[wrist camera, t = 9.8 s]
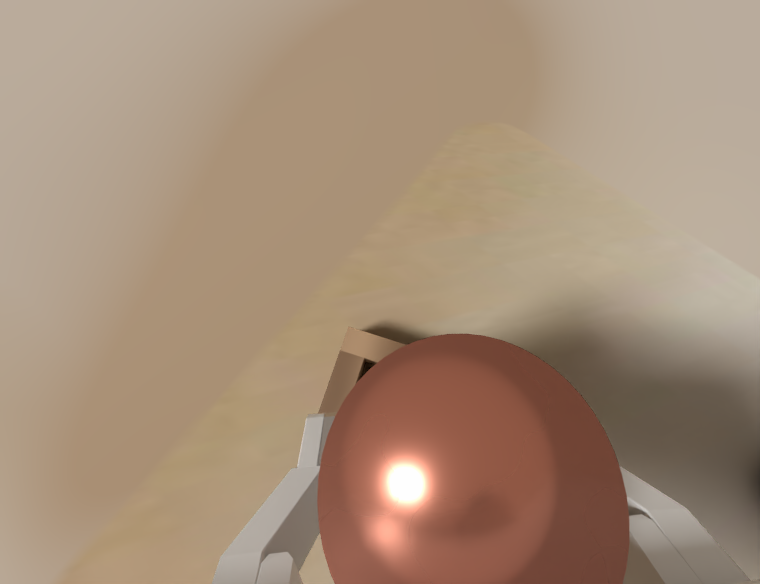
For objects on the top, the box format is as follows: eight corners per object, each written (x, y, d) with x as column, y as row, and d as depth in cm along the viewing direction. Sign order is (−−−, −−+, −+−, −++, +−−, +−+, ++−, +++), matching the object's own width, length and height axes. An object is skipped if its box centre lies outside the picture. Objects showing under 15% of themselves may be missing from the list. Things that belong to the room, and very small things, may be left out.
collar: (463, 369, 23) (475, 366, 20) (434, 499, 20) (443, 518, 17) (352, 333, 24) (348, 326, 21) (310, 455, 21) (299, 466, 18)
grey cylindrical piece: (463, 384, 16) (639, 383, 5) (440, 484, 14) (615, 762, 4) (376, 355, 16) (374, 299, 6) (345, 450, 15) (265, 614, 4)
